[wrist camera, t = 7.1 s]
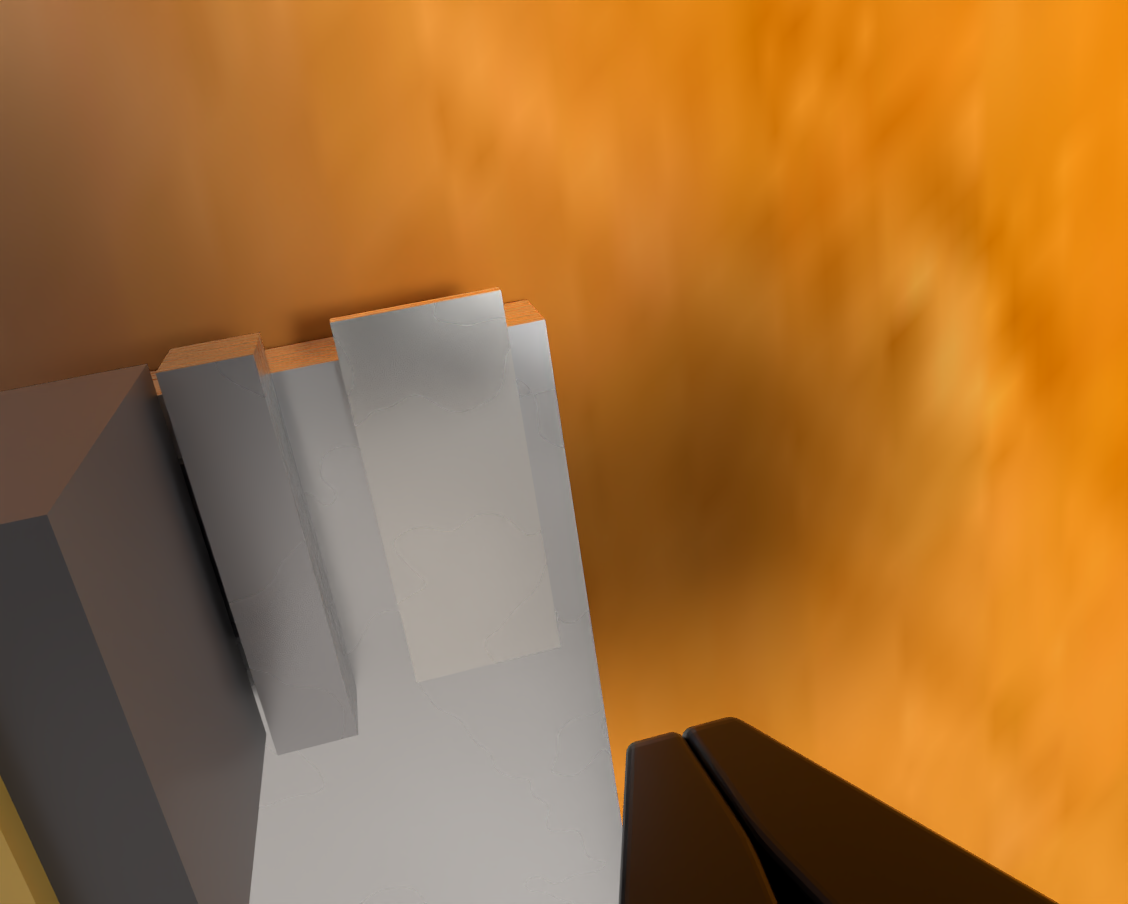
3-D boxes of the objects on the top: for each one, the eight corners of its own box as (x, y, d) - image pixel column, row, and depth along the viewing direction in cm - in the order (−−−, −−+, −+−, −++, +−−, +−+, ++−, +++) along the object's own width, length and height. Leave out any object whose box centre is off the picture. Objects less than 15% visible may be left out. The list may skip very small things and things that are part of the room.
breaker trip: (146, 359, 10) (32, 524, 6) (267, 737, 12) (236, 1041, 8) (-155, 416, 10) (-474, 633, 6) (21, 799, 12) (-132, 1150, 8)
